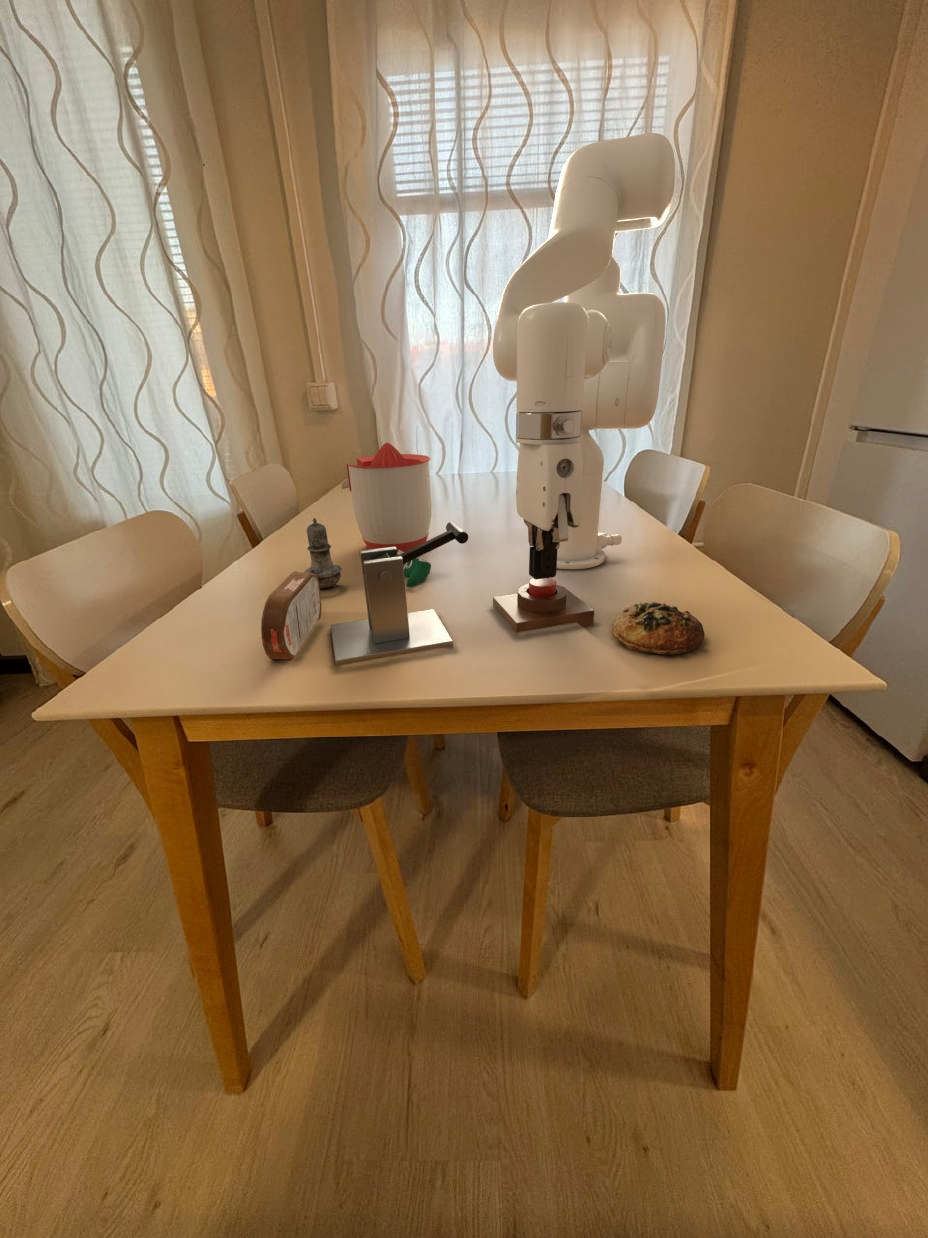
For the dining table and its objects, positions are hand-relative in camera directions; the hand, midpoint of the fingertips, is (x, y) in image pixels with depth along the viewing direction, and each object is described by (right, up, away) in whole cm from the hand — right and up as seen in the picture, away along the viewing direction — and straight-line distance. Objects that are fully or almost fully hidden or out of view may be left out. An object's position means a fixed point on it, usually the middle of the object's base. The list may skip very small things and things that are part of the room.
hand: (542, 576), depth 66 cm
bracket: (-20, -9, -2) cm, 22 cm away
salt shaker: (-32, -1, +14) cm, 36 cm away
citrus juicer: (-25, +9, +35) cm, 44 cm away
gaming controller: (-20, +1, +18) cm, 27 cm away
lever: (-16, +1, -6) cm, 17 cm away
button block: (0, -6, +3) cm, 6 cm away
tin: (-31, -9, -1) cm, 33 cm away
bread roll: (+14, -8, -3) cm, 16 cm away
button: (0, -2, +1) cm, 3 cm away
